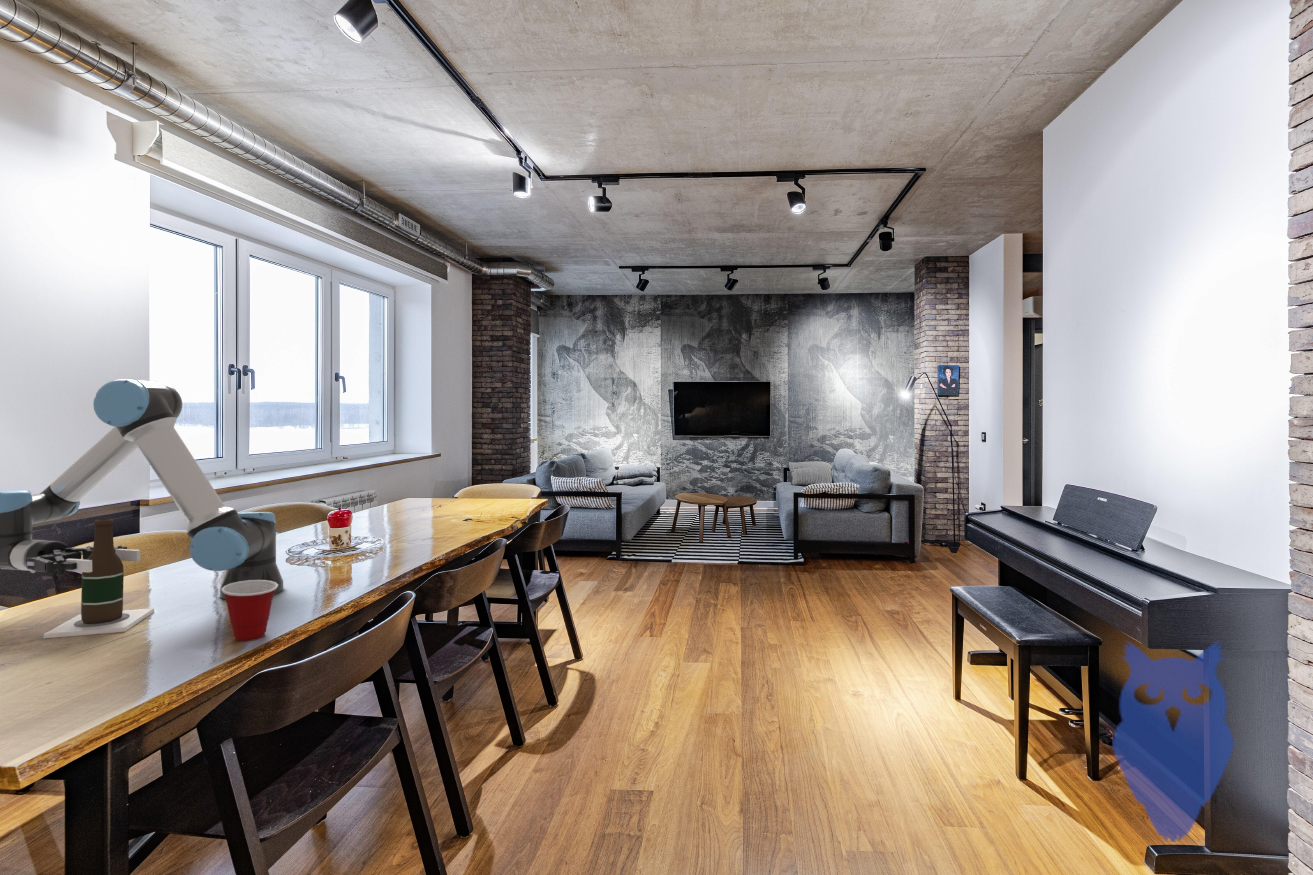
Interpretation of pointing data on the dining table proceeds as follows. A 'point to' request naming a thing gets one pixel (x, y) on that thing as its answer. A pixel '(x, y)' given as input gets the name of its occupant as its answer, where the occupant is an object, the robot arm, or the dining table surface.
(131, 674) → the dining table surface
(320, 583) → the dining table surface
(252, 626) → the plastic cup
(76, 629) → the tile
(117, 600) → the beer bottle
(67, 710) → the dining table surface
